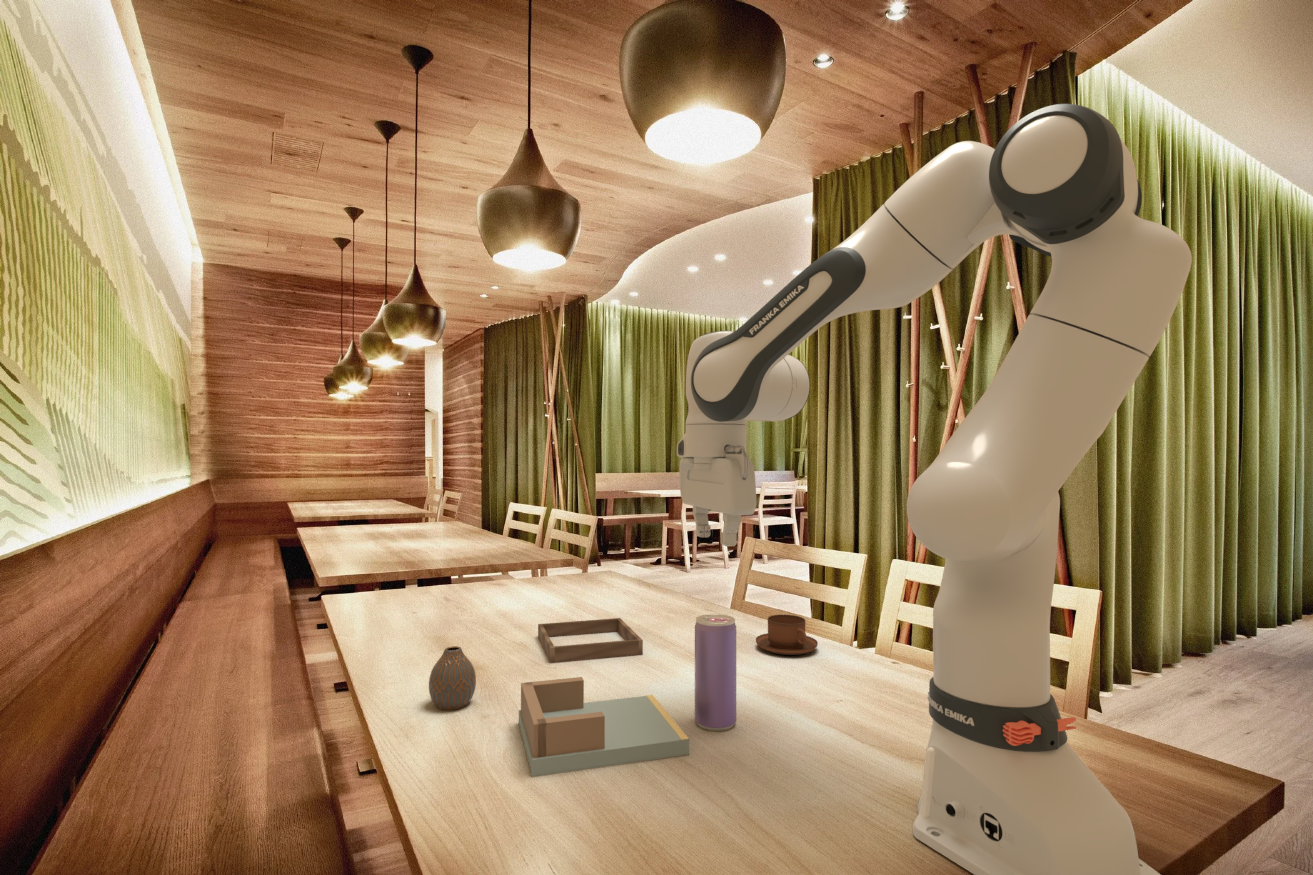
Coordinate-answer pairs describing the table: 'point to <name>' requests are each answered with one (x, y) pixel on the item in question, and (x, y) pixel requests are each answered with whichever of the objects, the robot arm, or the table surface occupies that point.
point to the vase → (452, 680)
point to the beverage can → (715, 672)
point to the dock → (592, 729)
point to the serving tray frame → (592, 650)
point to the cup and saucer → (786, 636)
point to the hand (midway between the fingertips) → (715, 541)
